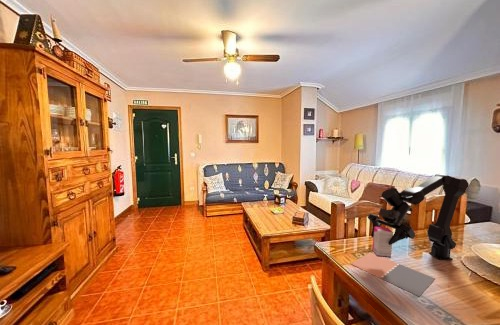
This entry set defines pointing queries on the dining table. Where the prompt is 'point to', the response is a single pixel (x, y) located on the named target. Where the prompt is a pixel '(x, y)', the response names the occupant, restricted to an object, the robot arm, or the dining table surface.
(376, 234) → the supplement box
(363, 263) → the ticket mat
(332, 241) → the dining table surface
